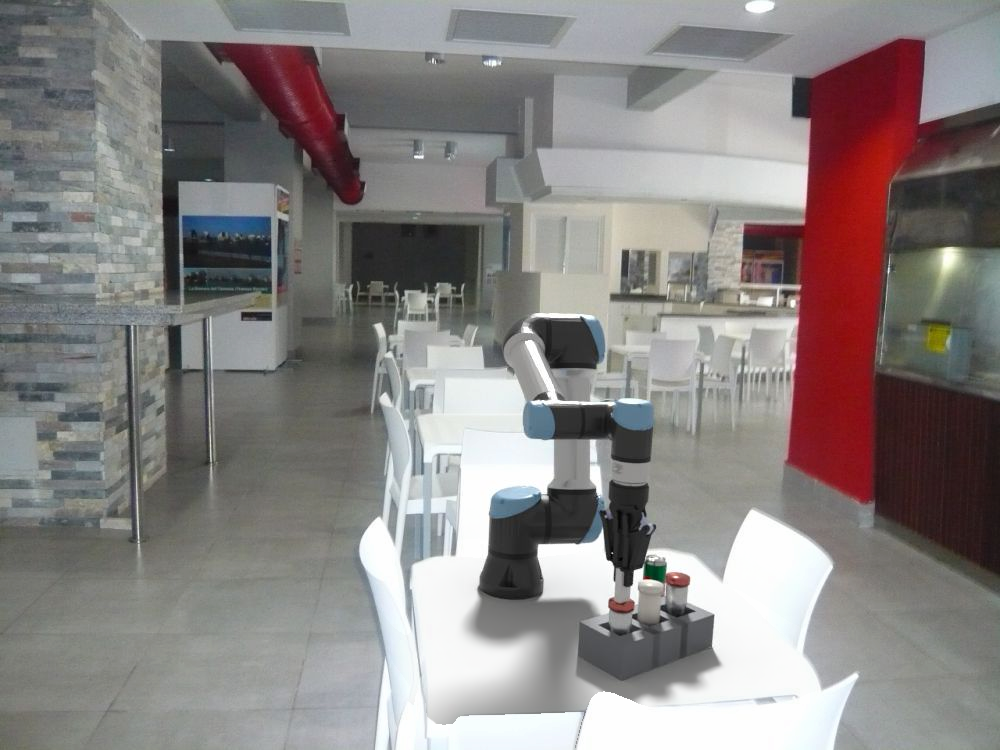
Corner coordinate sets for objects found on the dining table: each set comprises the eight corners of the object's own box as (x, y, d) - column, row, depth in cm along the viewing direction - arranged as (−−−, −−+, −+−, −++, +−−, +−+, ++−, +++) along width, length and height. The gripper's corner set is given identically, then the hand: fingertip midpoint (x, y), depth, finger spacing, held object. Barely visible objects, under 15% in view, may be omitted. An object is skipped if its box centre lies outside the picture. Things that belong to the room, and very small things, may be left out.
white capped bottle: (629, 625, 175) (632, 582, 173) (647, 620, 178) (650, 577, 177) (648, 635, 171) (651, 590, 170) (665, 629, 174) (668, 585, 173)
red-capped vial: (600, 644, 170) (603, 599, 169) (618, 638, 173) (621, 594, 172) (618, 653, 166) (621, 608, 165) (637, 647, 169) (640, 603, 168)
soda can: (663, 615, 193) (667, 562, 192) (640, 612, 194) (643, 560, 193) (663, 606, 198) (667, 555, 197) (641, 603, 199) (644, 552, 198)
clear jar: (657, 617, 180) (660, 575, 178) (673, 611, 183) (676, 570, 181) (675, 625, 176) (679, 582, 174) (692, 620, 179) (695, 578, 178)
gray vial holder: (621, 680, 162) (624, 644, 161) (577, 655, 172) (579, 621, 171) (711, 646, 178) (714, 614, 177) (667, 625, 188) (669, 594, 187)
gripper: (591, 475, 168) (584, 593, 171) (641, 491, 158) (633, 616, 161) (618, 471, 173) (611, 586, 176) (669, 486, 162) (660, 608, 165)
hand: (621, 600), depth 168 cm, fingers closed
